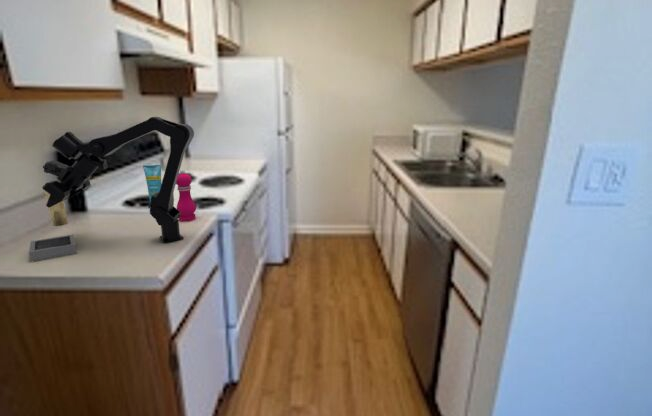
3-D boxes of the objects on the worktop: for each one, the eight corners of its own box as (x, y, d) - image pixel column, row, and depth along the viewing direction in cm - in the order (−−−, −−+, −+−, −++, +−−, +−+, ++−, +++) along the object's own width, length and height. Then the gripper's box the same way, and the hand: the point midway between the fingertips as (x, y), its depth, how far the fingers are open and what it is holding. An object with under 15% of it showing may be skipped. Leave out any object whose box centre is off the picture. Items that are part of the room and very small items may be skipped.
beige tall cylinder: (68, 224, 124) (60, 185, 121) (52, 227, 122) (43, 187, 118) (68, 221, 128) (60, 182, 124) (52, 223, 125) (44, 184, 122)
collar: (77, 253, 118) (75, 244, 117) (31, 262, 112) (29, 252, 111) (75, 242, 127) (73, 234, 126) (32, 250, 121) (30, 241, 120)
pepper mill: (184, 223, 148) (179, 171, 142) (174, 219, 152) (168, 169, 147) (200, 218, 153) (196, 169, 148) (190, 215, 157) (185, 167, 152)
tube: (147, 210, 166) (141, 166, 161) (149, 207, 171) (143, 164, 165) (165, 209, 168) (160, 165, 162) (167, 206, 172) (162, 163, 167)
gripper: (73, 148, 128) (44, 182, 129) (43, 155, 110) (9, 194, 111) (103, 170, 131) (74, 203, 132) (77, 181, 113) (44, 219, 115)
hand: (51, 204), depth 123 cm, fingers closed on beige tall cylinder, 4 cm apart
